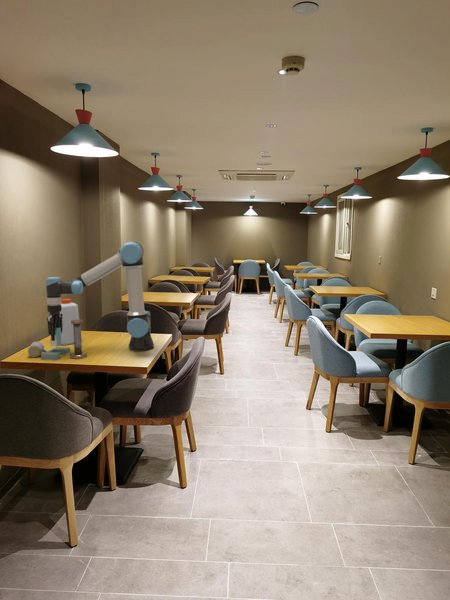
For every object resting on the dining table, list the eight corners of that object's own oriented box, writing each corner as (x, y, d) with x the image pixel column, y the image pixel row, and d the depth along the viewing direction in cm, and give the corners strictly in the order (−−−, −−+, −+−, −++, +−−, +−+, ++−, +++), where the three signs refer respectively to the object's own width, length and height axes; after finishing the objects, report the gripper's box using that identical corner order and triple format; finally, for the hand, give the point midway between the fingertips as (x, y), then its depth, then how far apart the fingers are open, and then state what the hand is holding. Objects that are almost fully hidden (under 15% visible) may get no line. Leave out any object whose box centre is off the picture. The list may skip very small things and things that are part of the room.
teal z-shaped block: (70, 352, 271) (70, 347, 270) (56, 359, 255) (56, 354, 255) (56, 352, 272) (56, 347, 272) (41, 359, 257) (41, 354, 256)
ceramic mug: (27, 358, 259) (27, 344, 258) (30, 354, 267) (29, 341, 266) (47, 357, 261) (47, 344, 260) (49, 353, 269) (49, 341, 268)
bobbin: (89, 355, 265) (87, 319, 262) (82, 359, 257) (80, 322, 254) (74, 354, 267) (73, 318, 264) (67, 358, 258) (65, 321, 255)
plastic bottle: (59, 346, 286) (57, 301, 282) (52, 341, 298) (50, 299, 294) (83, 342, 295) (81, 299, 291) (76, 338, 307) (73, 297, 303)
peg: (61, 344, 264) (60, 327, 263) (57, 346, 261) (57, 329, 259) (55, 344, 265) (54, 327, 264) (51, 346, 261) (50, 328, 260)
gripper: (55, 302, 268) (57, 341, 272) (39, 306, 252) (42, 348, 255) (67, 302, 267) (69, 341, 271) (52, 307, 250) (54, 349, 254)
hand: (56, 344), depth 263 cm, fingers closed on peg, 4 cm apart
